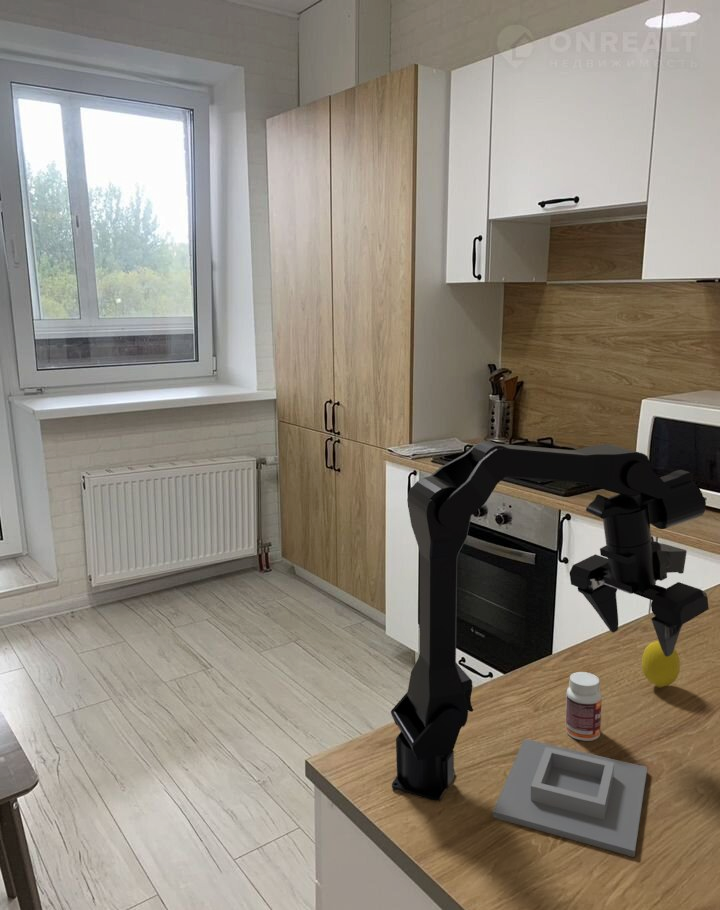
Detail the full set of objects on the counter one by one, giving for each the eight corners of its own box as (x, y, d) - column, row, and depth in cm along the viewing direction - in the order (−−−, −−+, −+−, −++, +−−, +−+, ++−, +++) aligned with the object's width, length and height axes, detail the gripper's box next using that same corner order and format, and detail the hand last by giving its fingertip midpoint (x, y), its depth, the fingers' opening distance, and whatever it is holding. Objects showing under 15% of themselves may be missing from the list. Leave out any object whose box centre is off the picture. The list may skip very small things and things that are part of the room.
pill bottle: (602, 743, 100) (604, 688, 98) (566, 740, 101) (568, 685, 99) (598, 724, 105) (600, 671, 103) (564, 721, 106) (565, 669, 104)
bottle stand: (492, 817, 86) (492, 796, 86) (524, 743, 101) (524, 725, 100) (634, 857, 80) (635, 835, 79) (646, 772, 94) (647, 753, 93)
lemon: (681, 683, 115) (684, 637, 113) (674, 700, 110) (677, 651, 108) (644, 675, 118) (646, 629, 116) (637, 690, 113) (639, 643, 111)
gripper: (732, 533, 91) (741, 643, 94) (616, 505, 107) (628, 599, 111) (672, 565, 86) (683, 679, 90) (560, 530, 102) (574, 628, 106)
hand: (640, 642), depth 99 cm, fingers open, 9 cm apart
